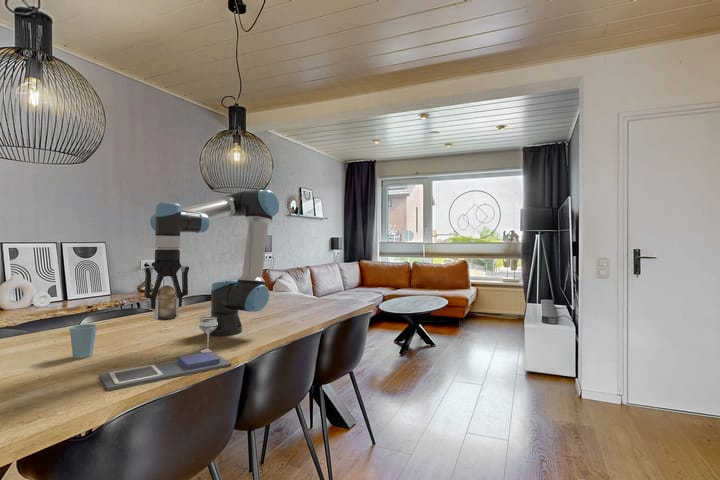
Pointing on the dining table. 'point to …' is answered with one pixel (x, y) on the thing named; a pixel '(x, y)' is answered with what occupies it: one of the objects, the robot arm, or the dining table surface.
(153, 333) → the dining table surface
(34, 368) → the dining table surface
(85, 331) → the cup
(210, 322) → the wineglass
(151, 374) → the desk mat
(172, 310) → the stamp
